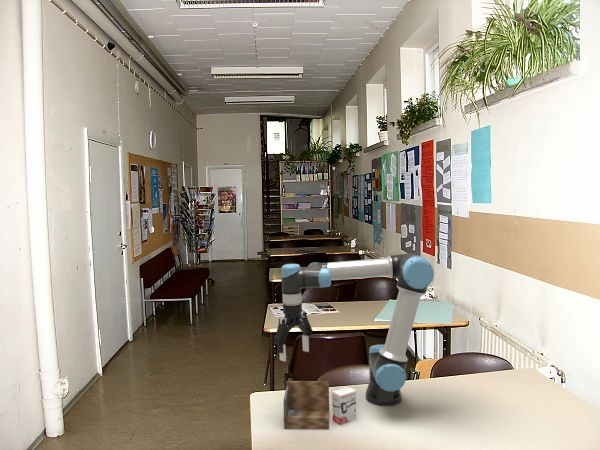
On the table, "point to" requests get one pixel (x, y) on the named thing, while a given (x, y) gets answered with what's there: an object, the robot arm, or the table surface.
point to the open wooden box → (306, 405)
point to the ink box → (344, 405)
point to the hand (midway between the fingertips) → (294, 355)
